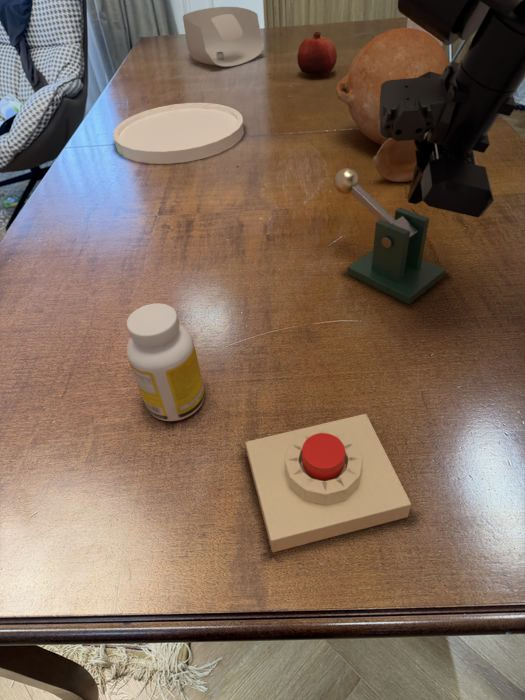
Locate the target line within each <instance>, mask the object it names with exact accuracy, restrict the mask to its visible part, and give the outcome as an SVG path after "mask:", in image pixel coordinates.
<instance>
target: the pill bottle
mask: <svg viewBox="0 0 525 700" xmlns="http://www.w3.org/2000/svg"><path fill="white" fill-rule="evenodd" d="M126 328H127V331H128V334H129V337H130V338H129V340H128V342H127V345H126V356H127V360H128V362H129V365H130V368H131V371H132V373H133V375H134V378H135V382H136V384H137V386H138V389H139V392H140V394H141V397H142V399H143V403H144V406H145V407H146V410H147V411H148V412H149V414H150V415H152V416H153V418H156V419H158V420H160V421H165V422H175V421H176V422H177V421H181V420H184V419H186V418H188V417H190V416H192V415H193V414H195V413H196V412H197V411H198V410H199V409H200V408H201V407H202V405H203V403H204V400H205V396H206V395H205V394H206V391H205V385H204V381H203V377H202V373H201V368H200V364H199V360H198V355H197V350H196V346H195V343H194V338H193V336H192V334H191V332H190V331H189V330H188V328H186V327H185V326H184V325H182V324H180V320H179V317H178V314H177V311H176V310H175V308H174V307H172V306H170V304H166V303H161V302H160V303H157V302H156V303H149V304H146V305H142V306H140V307H138V308H137V309H135V310H134V311H133V312H132V313H130V315H128V318H127V320H126Z"/></svg>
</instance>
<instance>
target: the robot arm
mask: <svg viewBox="0 0 525 700" xmlns="http://www.w3.org/2000/svg"><path fill="white" fill-rule="evenodd" d="M397 10H398V12H399V13H400V14H401V15H403V16H405V18H407V19H410V20H411V21H413V22H414V23H416V24H417V25H418V26H420V27H421V28H423V29H424V30H425V31H427V32H428V33H430V34H431V35H432V36H434V37H435V38H437V39H438V40H440V41H441V42H442V43H443V45H445V46H451V45H453V44H454V43H456V42H457V41H458V40H459V39H461V40H462V41H466V40H468V39H469V38H471V37H472V36H473V35H474V36H473V37H472V39H471V41H470V43H469V45H468V47H467V48H466V50H465V52H464V54H463V56H462V57H461V59H460V61H459V62H458V61H453V60H452V61H451V63H450V64H448V65H449V66H448V65H447V66H446V68H445V69H444V71H443V73H442V75H441V74H438V73H434V72H430V71H429V72H427V73H425V74H423V75H421V76H419V77H418V78H408V79H397V80H388V81H385V82H384V83H382V85H381V93H380V110H379V118H380V134H381V135H382V136H383V137H385V138H393V139H395V140H396V141H408V140H414V143H415V146H416V148H417V150H418V151H417V150H416V151H415V153H416V166H415V170H414V174H413V178H412V180H411V183H410V186H409V191H408V194H407V202H408V203H409V204H412V205H417V204H419V203H421V202H424V204H425V205H427V206H428V207H431V208H433V209H439V210H442V211H443V210H444V211H448V212H452V213H456V214H461V215H464V216H470V217H474V218H480V217H482V216H483V215H484V214H485V212H487V210H488V209H489V207H490V206H491V205H492V204H493V203H494V201H495V199H494V195H493V190H492V185H491V182H490V177H489V174H488V171H487V167H486V166H483V165H479V164H478V161H477V160H478V159H477V155H476V152H478V153H482V154H485V152H486V151H487V149H488V148H489V147H490V145H491V144H490V139H489V135H488V133H489V132H490V130H491V129H492V127H493V126H494V124H495V123H496V121H497V120H498V118H500V115H504V116H507V117H510V116H511V115H512V114H513V112H514V110H516V108H517V104H516V101H515V97H514V95H515V93H516V92H517V90H518V88H519V87H520V86H521V84H522V83H523V82H524V80H525V0H397Z"/></svg>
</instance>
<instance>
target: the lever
mask: <svg viewBox="0 0 525 700" xmlns="http://www.w3.org/2000/svg"><path fill="white" fill-rule="evenodd" d="M333 183H334V187H335V189H336V190H337V191H338V192H339V193H340V194H344V195H349V194H351V195H352V196H353V197H354V198H355V199H356V200H357V201H358V202H360V204H361V205H363V207H365V208H366V209H367V210H368V211H369V212H370V213H371V214H372V215H373V216H374V217H375V218H376V219H377V220H378V221H379V220H383V221H386V222H388V223H391V224H393V225H396V226H398V227H401V228H403V229H406V230H408V231H410V237H409V243H410V241H411V240H412V239H413V237H414V236H415V235H416V233H417V232H418V230H417V229H416V228H415V227H414V226H412V225H411V224H410V223H409V222H408V221H407V220H406V219H405V218H404V217H403V216H402V217H400V218H399V219H397V220H395V219H394V218H395V217H393V216H392V214H390V213H389V212H388V211H387V210H386V209H385V208H384V207H383V206H382V205H381V204H380V203H379V202H377V201H376V199H375V198H373V197H372V196H371V195H370V194H369V193H368V192H367V191H366V190H365V189H364V188H363V186H361V185H360V176H359V174H358V173H357V171H356V170H355V169H354V168H350V167H345V168H342V169H340V170H339V171H338V172H337V173H336V174H335V176H334V179H333ZM409 243H408V244H409Z"/></svg>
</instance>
